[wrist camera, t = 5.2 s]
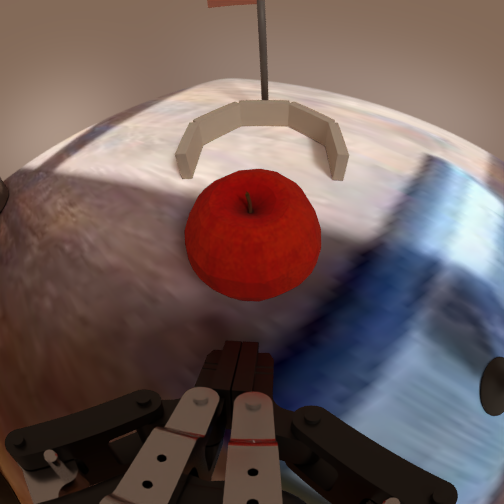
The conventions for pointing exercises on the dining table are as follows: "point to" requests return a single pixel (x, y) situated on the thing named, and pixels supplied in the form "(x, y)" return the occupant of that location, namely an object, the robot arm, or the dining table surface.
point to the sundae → (493, 387)
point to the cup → (261, 116)
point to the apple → (253, 235)
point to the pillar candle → (6, 493)
